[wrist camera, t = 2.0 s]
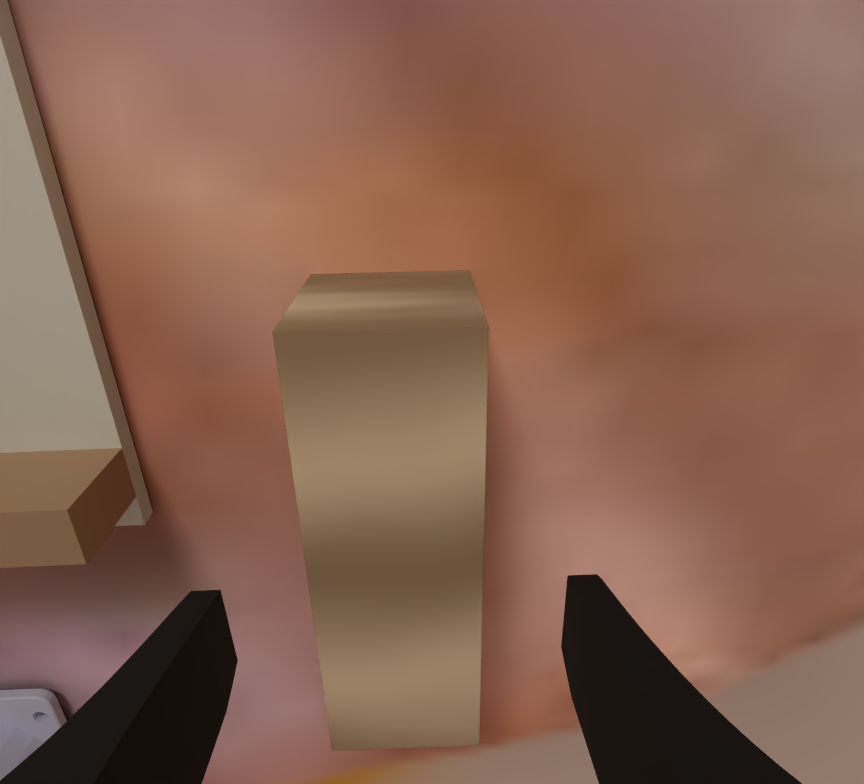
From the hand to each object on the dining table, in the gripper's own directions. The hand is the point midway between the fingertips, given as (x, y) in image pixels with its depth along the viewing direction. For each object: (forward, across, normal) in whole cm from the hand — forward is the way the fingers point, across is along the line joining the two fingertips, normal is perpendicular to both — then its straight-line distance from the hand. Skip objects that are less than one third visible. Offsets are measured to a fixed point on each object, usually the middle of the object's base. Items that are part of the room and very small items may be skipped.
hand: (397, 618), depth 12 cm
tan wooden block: (+6, 0, 0) cm, 6 cm away
